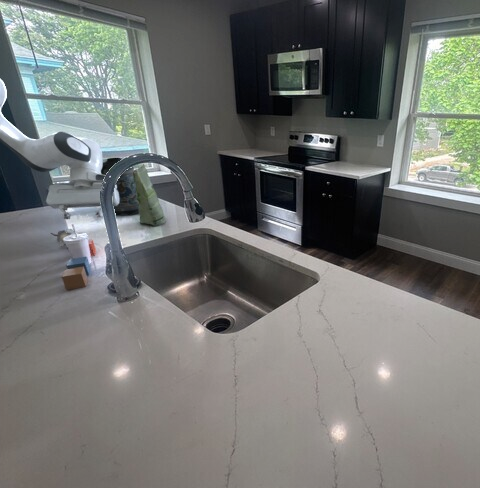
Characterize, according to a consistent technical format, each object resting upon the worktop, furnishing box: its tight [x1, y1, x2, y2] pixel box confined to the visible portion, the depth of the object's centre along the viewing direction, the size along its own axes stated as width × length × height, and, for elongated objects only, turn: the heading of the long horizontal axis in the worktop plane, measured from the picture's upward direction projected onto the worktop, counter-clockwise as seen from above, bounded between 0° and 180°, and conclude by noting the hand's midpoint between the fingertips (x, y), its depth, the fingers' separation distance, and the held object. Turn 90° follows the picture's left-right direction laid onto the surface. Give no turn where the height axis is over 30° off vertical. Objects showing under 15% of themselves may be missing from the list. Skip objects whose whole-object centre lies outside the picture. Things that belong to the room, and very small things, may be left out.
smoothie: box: [63, 223, 92, 264], centre depth 96 cm, size 6×6×14 cm
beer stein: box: [101, 157, 140, 217], centre depth 139 cm, size 16×19×25 cm
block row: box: [61, 238, 97, 291], centre depth 95 cm, size 4×26×4 cm, turn 29°
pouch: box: [133, 163, 167, 227], centre depth 128 cm, size 11×12×25 cm
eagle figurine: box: [50, 228, 75, 250], centre depth 109 cm, size 8×7×9 cm
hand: (82, 217), depth 101 cm, fingers open, 8 cm apart
